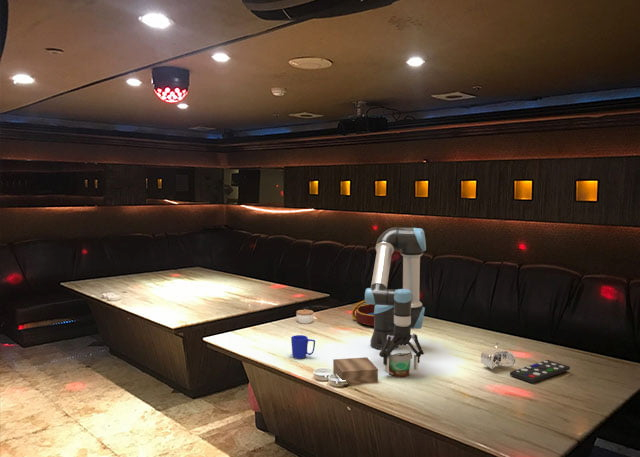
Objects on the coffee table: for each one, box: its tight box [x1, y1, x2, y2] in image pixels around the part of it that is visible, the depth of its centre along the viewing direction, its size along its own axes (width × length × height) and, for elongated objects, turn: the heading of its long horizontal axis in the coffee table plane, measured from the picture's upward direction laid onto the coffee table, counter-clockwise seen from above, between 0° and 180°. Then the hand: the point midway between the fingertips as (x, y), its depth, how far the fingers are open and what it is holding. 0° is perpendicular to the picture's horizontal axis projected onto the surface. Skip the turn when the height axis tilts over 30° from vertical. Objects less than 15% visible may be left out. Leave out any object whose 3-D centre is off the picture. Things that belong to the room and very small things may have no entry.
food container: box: [388, 350, 413, 378], centre depth 223 cm, size 12×6×10 cm, turn 105°
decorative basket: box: [351, 299, 375, 327], centre depth 317 cm, size 34×29×15 cm
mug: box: [290, 334, 316, 359], centre depth 248 cm, size 8×12×10 cm
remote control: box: [509, 359, 571, 384], centre depth 231 cm, size 11×30×2 cm, turn 124°
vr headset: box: [480, 342, 516, 370], centre depth 236 cm, size 14×9×11 cm, turn 110°
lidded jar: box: [296, 308, 314, 325], centre depth 312 cm, size 11×11×9 cm
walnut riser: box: [332, 356, 379, 386], centre depth 221 cm, size 16×16×6 cm
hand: (401, 371), depth 224 cm, fingers open, 13 cm apart
